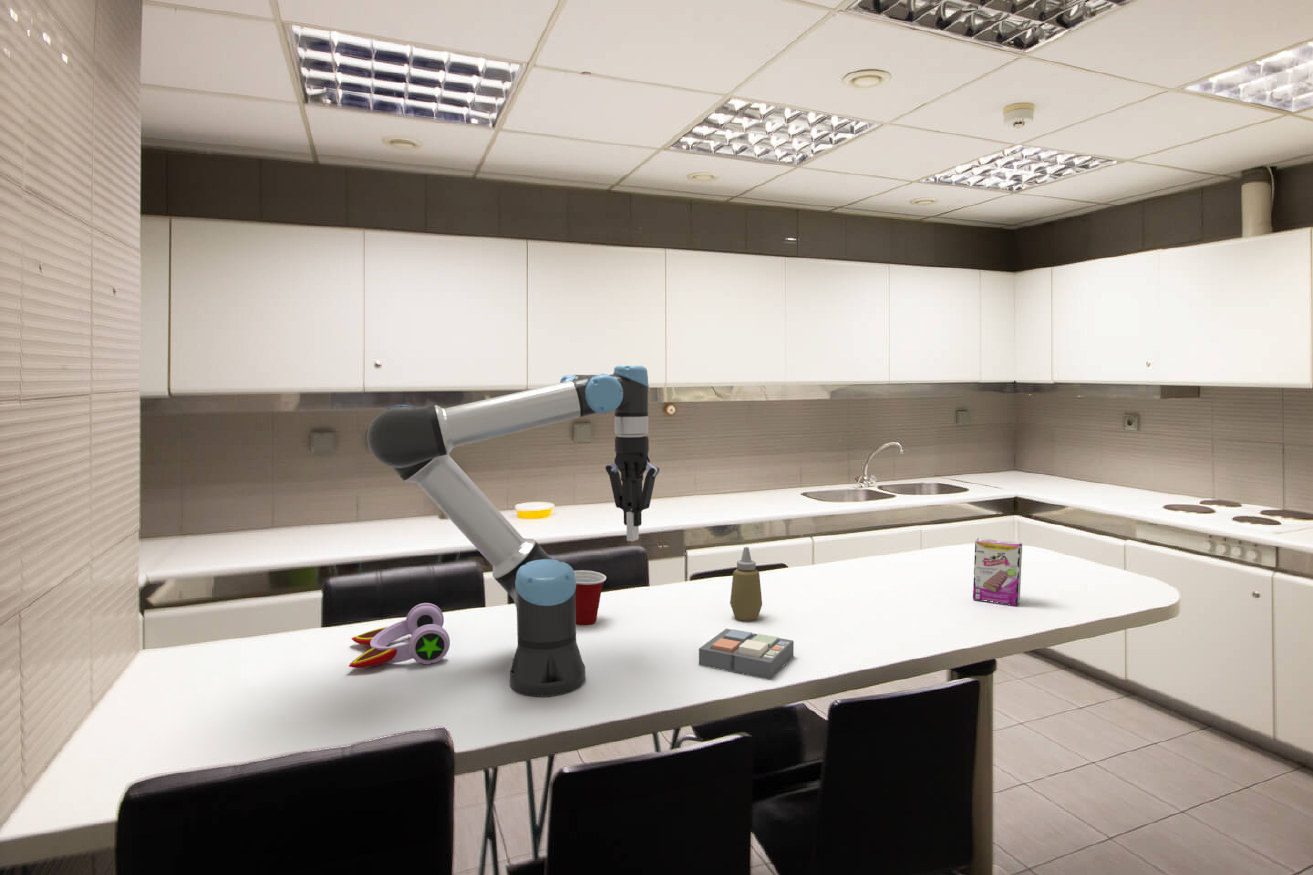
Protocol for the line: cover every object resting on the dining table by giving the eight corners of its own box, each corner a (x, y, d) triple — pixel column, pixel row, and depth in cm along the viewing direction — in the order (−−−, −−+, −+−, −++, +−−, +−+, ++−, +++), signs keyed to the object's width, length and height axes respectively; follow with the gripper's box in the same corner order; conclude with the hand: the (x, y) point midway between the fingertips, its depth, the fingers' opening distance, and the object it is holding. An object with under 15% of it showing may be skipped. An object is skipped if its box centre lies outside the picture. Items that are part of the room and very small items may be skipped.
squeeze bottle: (754, 624, 180) (754, 552, 178) (724, 619, 184) (724, 549, 182) (767, 615, 186) (767, 546, 185) (738, 610, 191) (738, 542, 189)
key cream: (759, 664, 150) (759, 650, 149) (738, 660, 152) (738, 646, 152) (767, 657, 154) (767, 643, 153) (747, 653, 156) (747, 639, 156)
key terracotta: (731, 662, 153) (731, 648, 153) (711, 658, 155) (711, 644, 155) (740, 655, 157) (740, 641, 157) (720, 651, 159) (720, 638, 159)
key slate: (743, 652, 158) (743, 639, 158) (724, 648, 161) (724, 635, 160) (751, 645, 162) (751, 632, 162) (732, 642, 165) (732, 629, 164)
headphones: (452, 627, 157) (351, 627, 150) (447, 672, 157) (347, 674, 150) (444, 601, 175) (354, 600, 168) (440, 641, 176) (350, 642, 169)
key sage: (770, 657, 155) (770, 643, 155) (750, 653, 158) (750, 640, 157) (778, 650, 159) (778, 637, 159) (758, 646, 162) (758, 633, 161)
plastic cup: (600, 630, 176) (599, 581, 175) (557, 627, 179) (556, 579, 178) (612, 616, 187) (611, 570, 186) (571, 613, 189) (570, 568, 188)
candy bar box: (972, 600, 197) (974, 540, 196) (975, 596, 202) (977, 537, 200) (1018, 607, 191) (1020, 545, 190) (1020, 602, 196) (1022, 542, 194)
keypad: (770, 679, 147) (770, 660, 147) (698, 664, 155) (698, 646, 155) (793, 656, 159) (793, 638, 159) (726, 643, 167) (726, 626, 167)
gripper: (665, 435, 163) (666, 539, 164) (616, 433, 169) (617, 533, 171) (648, 437, 156) (649, 546, 158) (597, 435, 163) (599, 540, 164)
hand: (632, 539), depth 164 cm, fingers closed
